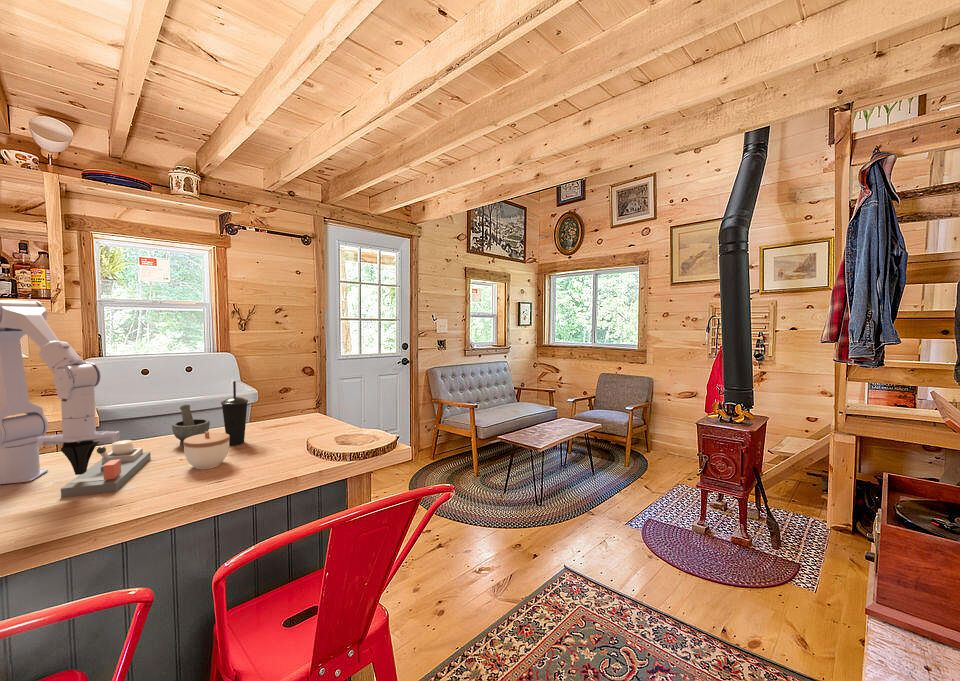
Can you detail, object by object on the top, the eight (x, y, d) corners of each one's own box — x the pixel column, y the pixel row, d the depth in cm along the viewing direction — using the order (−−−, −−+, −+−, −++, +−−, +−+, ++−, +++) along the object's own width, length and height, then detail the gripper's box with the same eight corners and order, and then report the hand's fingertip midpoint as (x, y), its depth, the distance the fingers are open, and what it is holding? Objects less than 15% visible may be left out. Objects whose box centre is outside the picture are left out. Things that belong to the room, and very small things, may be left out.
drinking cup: (225, 440, 142) (223, 379, 141) (251, 439, 144) (250, 379, 143) (218, 447, 135) (217, 383, 133) (246, 445, 137) (245, 382, 136)
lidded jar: (237, 464, 121) (237, 430, 120) (195, 475, 112) (194, 439, 111) (218, 456, 127) (218, 424, 126) (176, 466, 118) (176, 432, 117)
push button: (109, 454, 115) (109, 445, 115) (116, 450, 119) (115, 441, 119) (129, 453, 117) (129, 444, 117) (135, 448, 121) (135, 439, 121)
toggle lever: (102, 462, 109) (93, 450, 108) (105, 460, 111) (97, 447, 110) (110, 459, 110) (101, 446, 109) (113, 457, 111) (104, 444, 111)
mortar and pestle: (214, 443, 139) (213, 406, 138) (180, 450, 131) (179, 411, 130) (200, 437, 145) (199, 401, 145) (167, 443, 138) (166, 405, 137)
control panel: (61, 497, 98) (60, 482, 98) (106, 462, 120) (106, 450, 120) (116, 491, 101) (115, 476, 101) (150, 458, 124) (150, 446, 123)
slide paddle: (103, 479, 102) (103, 465, 102) (110, 473, 106) (110, 460, 106) (114, 478, 103) (113, 464, 103) (121, 472, 107) (120, 459, 106)
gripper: (27, 422, 95) (30, 483, 96) (110, 417, 100) (112, 475, 101) (45, 415, 101) (48, 472, 102) (122, 411, 107) (124, 465, 108)
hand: (80, 473), depth 102 cm, fingers closed
